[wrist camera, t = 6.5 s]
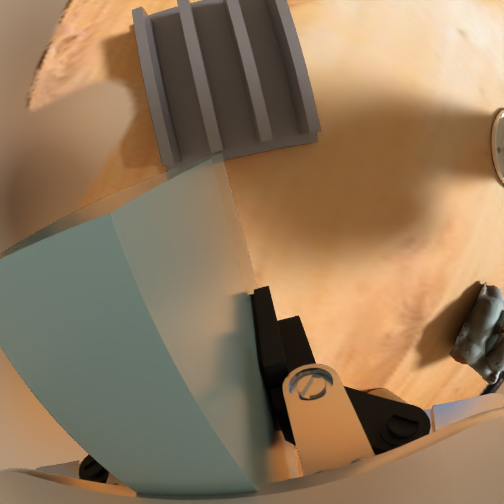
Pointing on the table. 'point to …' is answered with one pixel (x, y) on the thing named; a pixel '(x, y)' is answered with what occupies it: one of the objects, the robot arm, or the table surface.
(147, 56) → the dish rack
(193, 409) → the thin teal board
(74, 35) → the table surface
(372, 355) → the table surface
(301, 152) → the table surface
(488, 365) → the grey lumpy mound
